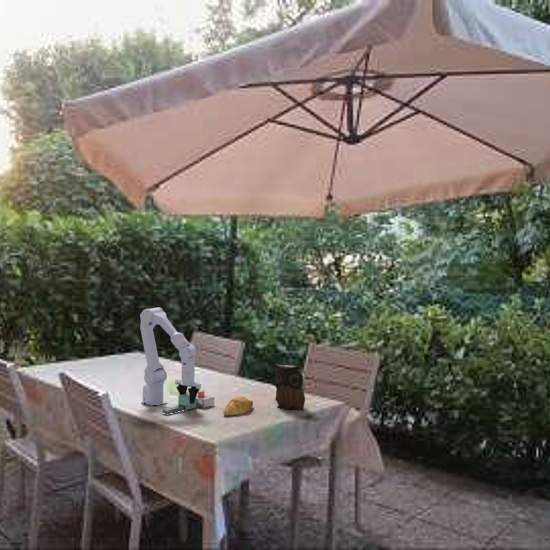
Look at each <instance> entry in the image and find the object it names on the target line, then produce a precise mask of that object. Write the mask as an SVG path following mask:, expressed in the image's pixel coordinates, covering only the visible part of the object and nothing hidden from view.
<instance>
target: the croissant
mask: <svg viewBox="0 0 550 550" xmlns="http://www.w3.org/2000/svg"><path fill="white" fill-rule="evenodd" d="M253 406H254V401H253V400H250V399H248V398H246V397H245V396H237V397H234V398H232V399H230V400H229V402H228V403H227V405H226V406H225V408H224V410H223V412H222V414H223V415H224V416H238V414H240V415H245V414H247V413H248V412H249V411H250V410H251V409H252V407H253Z"/></svg>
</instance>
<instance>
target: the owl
mask: <svg viewBox="0 0 550 550" xmlns="http://www.w3.org/2000/svg"><path fill="white" fill-rule="evenodd" d="M275 368H276V369H275V375H274V376H275V379H274V385H275V388H276V391H275V399H274V400H275V401H276V403H277V407H278V408H277V409H279V408H280V409H279V410H285V409H289V410H288V411H291V410H297V411H304V406H305V403H306V396H305V391H304V388H303V386H304V377H303V374H302V367H301V366H300V365H290V364H284V365H282V364H278V363H275Z"/></svg>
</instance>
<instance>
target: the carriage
mask: <svg viewBox="0 0 550 550" xmlns="http://www.w3.org/2000/svg"><path fill="white" fill-rule="evenodd" d="M177 399H178V400H177V402H178V404H177V406H179V405H184V406H185V410H186V411H189V410H188V409H190V410H193V409H196V408H195V407H196V399H195V403H193V404H190V395H189V392H186V394H182V395H180V394H178V398H177ZM192 408H193V409H192Z"/></svg>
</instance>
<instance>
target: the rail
mask: <svg viewBox="0 0 550 550" xmlns="http://www.w3.org/2000/svg"><path fill="white" fill-rule="evenodd" d="M196 407H197V408H199V407H198V403H196ZM182 410H185V406H184V405H179V406H178V405H176V406H172V407H167V408H163V409H162V413H165V414H170V413H174V414H176V413H175V412H178V411H182ZM182 412H183V411H182ZM178 413H179V412H178ZM170 415H171V414H170Z"/></svg>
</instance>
